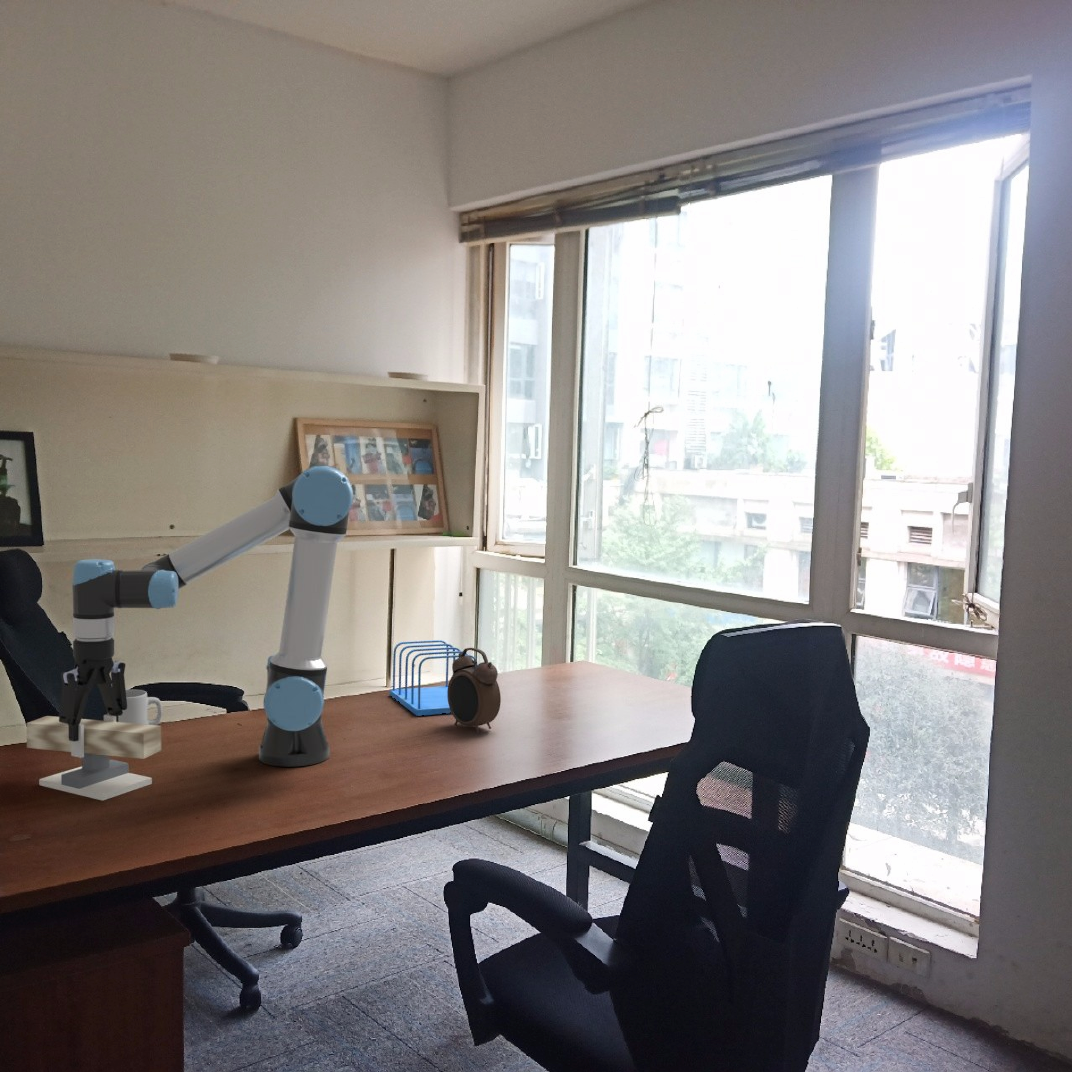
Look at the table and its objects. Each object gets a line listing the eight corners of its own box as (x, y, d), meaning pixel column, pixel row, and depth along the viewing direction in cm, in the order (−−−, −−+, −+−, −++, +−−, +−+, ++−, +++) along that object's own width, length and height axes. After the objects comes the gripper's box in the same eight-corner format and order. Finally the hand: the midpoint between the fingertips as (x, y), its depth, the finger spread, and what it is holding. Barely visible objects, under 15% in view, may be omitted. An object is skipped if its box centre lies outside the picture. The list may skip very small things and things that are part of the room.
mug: (113, 747, 236) (113, 699, 236) (103, 738, 243) (103, 692, 242) (167, 740, 244) (167, 693, 243) (156, 731, 250) (156, 686, 250)
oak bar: (161, 750, 210) (161, 725, 210) (143, 758, 205) (143, 733, 204) (47, 739, 216) (46, 715, 216) (26, 747, 210) (26, 723, 210)
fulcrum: (151, 783, 212) (151, 748, 211) (102, 800, 201) (102, 763, 201) (89, 769, 220) (89, 735, 220) (39, 785, 210) (38, 749, 209)
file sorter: (480, 712, 276) (481, 654, 275) (416, 717, 269) (417, 658, 268) (448, 691, 299) (449, 638, 298) (389, 696, 292) (389, 641, 291)
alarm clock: (442, 725, 262) (443, 645, 260) (464, 720, 267) (466, 642, 265) (479, 738, 251) (481, 655, 249) (502, 732, 256) (504, 651, 254)
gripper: (121, 629, 219) (121, 737, 221) (36, 643, 201) (37, 761, 203) (147, 632, 216) (147, 743, 217) (63, 647, 198) (64, 767, 200)
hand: (94, 751), depth 210 cm, fingers closed on oak bar, 7 cm apart
